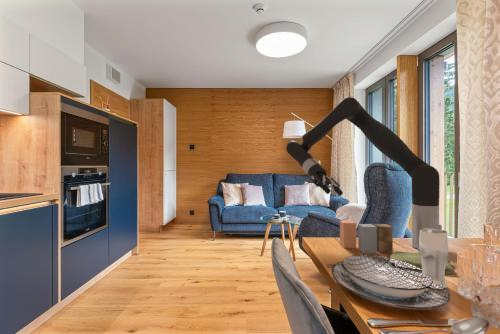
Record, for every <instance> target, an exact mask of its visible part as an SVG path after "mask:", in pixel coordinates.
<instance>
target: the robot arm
mask: <svg viewBox="0 0 500 334" xmlns="http://www.w3.org/2000/svg"><path fill="white" fill-rule="evenodd" d="M344 120H348V122H350V123H351V124H353V125H354V126H355V127H357V128H358V129H359V130H360V131H361V133H362V134H363V135H364V136H365V138H366V139H367V140H368V141H369V142H370V143H371V144H372V145H373V146H374V147H375V148H376V149H377V150H378V151H379V152H380V153H382V154H383V155H384V156H386V157H387V158H388V159H390V160H391V161H393V162H394V163H396V164H397V165H398V166H399V167H401V168H402V169H403V170H404V172H406V173H407V174H408V176H409V177H410V178H411V235H412V236H411V239H412V240H411V245H412V247H413V248H415V249H418V236H419V229H421V228H433V229H440V230H443V226H442V224H440V187H441V186H440V185H441V184H440V173H439V171H438V169H437V168H436V167H434V166H432V165H430V164H428V163H427V162H426V161H424V160H423V159H421V158H420V157H419V156H418V155H417V154H415V153H414V152H413V151H412V149H411V148H410V147H409V146H408V145H407V144H406V142H404V141H403V140H402V139H401V138H400V137H399V136H398V135H397V134H396V133H395V132H394V131H393V130H391V129H390V128H389V127H387V126H386V125H385V124H384V123H382V122H380V121H379V120H377V119H376V118H374V117H373V116H371V114H369V112H367V110H366V109H365V108H364V107H363V106H362V105H361V103H360V102H359V101H358V100H357V99H356V98H355V97H352V96H349V97H345V98H343V99H341V101H340V102H339V103H338V104H337V105H336V106H335V107H334V108H333V109H332V110H331V111H330V112H329V113H328V114H327V115H326V116H325V117H323V118H322V119H321V120H320V121H319V122H318V123H317V124H315V125H314V126H313V127H312V128H310V129H308V131H306V132H305V133H304V134H303V135H302V136H301V138H302V142H301V143H300V142H298V141H297V140H290V141H288V142H287V144H286V147H285V148H286V149H285V150H286V152H287V153H288V154H289V156H291V157H292V158H293V159H294V160H295V161H296V162H297V163H298V164H299V165H300V167H301V168H302V170H303V171H304V173H305V174H306V175H308V177H309V178H310V180H311V181H312V182H313V184H314V185H315V186H316V187H317V188H320V189H322V190H323V192H324V193H325V194H327V195H329V194H330V193H331V192H332V190H333V191H334V192H335V193H336V194H337V195H338V196H339V197H341V196H342V195H343V194H344V192H343V190H341V188H340V187H341V185H340V184H339V182H337V181H336V180H335V178H333V177H329V176H328V175H327V170H326V168H324V167H323V166H322V165H321V164H320V162H319V161H318V160H316V159H315V158H314V157H313V156H312V154H310V153H309V151H310V150H311V149H312V147H313V146H314V145H316V144H317V143H318V142H319V141H321V140H322V139H323V138H325V137H326V136H327V135H328V134H329V132H331V130H332V129H333V128H335V127H336V126H337V125H338V124H339V123H341V122H343V121H344ZM331 189H332V190H331Z"/></svg>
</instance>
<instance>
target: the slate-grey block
mask: <svg viewBox="0 0 500 334" xmlns="http://www.w3.org/2000/svg"><path fill="white" fill-rule="evenodd" d="M357 232H358V233H357V234H358V236H357V238H358V240H357V241H358V243H357V244H358V245H357V246H358V249H357V250H358V251H360V252H361V253H362V254H378V252H377V227H376V226H374V225H373V224H371V223H358V224H357Z"/></svg>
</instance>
